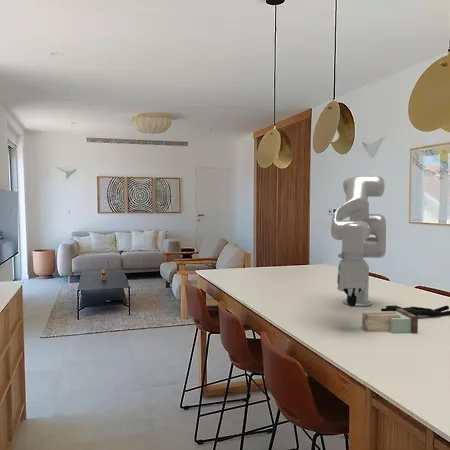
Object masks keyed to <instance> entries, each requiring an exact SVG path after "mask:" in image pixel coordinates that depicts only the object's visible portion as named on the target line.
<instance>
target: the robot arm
mask: <svg viewBox="0 0 450 450" xmlns="http://www.w3.org/2000/svg"><path fill="white" fill-rule="evenodd" d="M342 185H343V186H342V187H343V188H342V189H343V191H344V194H345V201H344V202H343V203H342V204H341V205H339V206H338V207H337V209H336V210H335V211H334V213H333V215H332V218H331V219H332V220H331V227H330V234H331V237H332V238H333V239H334V240H336V241H341V252H340V253H338V254H337V255H338V256H337V257H338V258H341V259H340V260H339V264H338V269H337V279H336V281H337V282H336V283H337V288H336V289H337V291H340V292H344V293H345V294H346V298H345V299H343V303H344V304H345V305H347V306H349V307H351V308H352V307H354V308H355V307H370V306H372V300H369V286H370V285H369V282H370V281H369V280H370V279H369V276H370V267H369V264H368V263H367V262H366V259H364V258H368V259H369V258H370V259H375V258H376V259H381V258H384V257H385V255H386V250H387V221H386V218H385V216H384V215H383V214H379V213H370V203H369V200H368V198H370V197H371V198H373V197H374V198H377V197H378V198H379V197H382V196H383V195H384V192H385V187H386V186H385V180H384V178H383V177H382V176H379V175H356V176H355V175H354V176H353V177H350V178H346V179H345V180H343V183H342ZM347 218H349V220H345V219H347ZM370 235H371V236H370ZM372 236H373V237H372ZM374 236H375V237H374Z"/></svg>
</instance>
